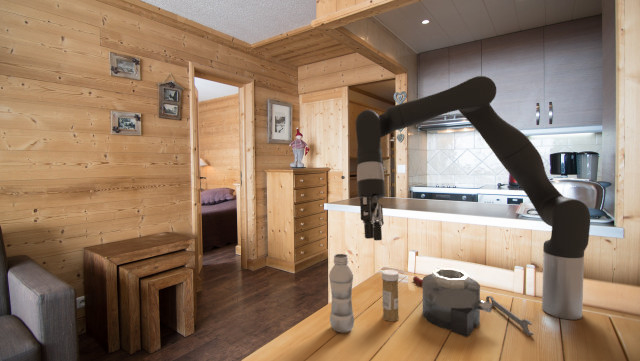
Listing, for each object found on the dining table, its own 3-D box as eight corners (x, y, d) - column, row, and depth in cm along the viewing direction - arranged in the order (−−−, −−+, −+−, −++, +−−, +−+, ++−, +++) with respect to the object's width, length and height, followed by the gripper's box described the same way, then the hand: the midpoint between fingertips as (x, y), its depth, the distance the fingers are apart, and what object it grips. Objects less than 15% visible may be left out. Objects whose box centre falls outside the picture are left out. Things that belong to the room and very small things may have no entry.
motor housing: (436, 300, 101) (436, 261, 101) (499, 319, 89) (499, 275, 88) (412, 317, 91) (412, 274, 90) (479, 342, 78) (480, 292, 77)
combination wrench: (485, 293, 99) (529, 324, 79) (489, 292, 99) (534, 324, 79) (485, 304, 99) (529, 339, 79) (489, 304, 99) (534, 339, 79)
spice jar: (401, 320, 89) (401, 273, 88) (386, 322, 88) (386, 275, 87) (394, 313, 94) (393, 268, 93) (379, 315, 93) (379, 269, 92)
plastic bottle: (338, 338, 81) (336, 261, 80) (325, 326, 87) (324, 254, 86) (359, 331, 84) (358, 257, 83) (345, 320, 90) (344, 251, 89)
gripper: (377, 173, 82) (381, 237, 78) (389, 184, 94) (393, 240, 90) (349, 176, 84) (351, 238, 81) (365, 187, 97) (367, 241, 93)
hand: (373, 239), depth 85 cm, fingers open, 8 cm apart
